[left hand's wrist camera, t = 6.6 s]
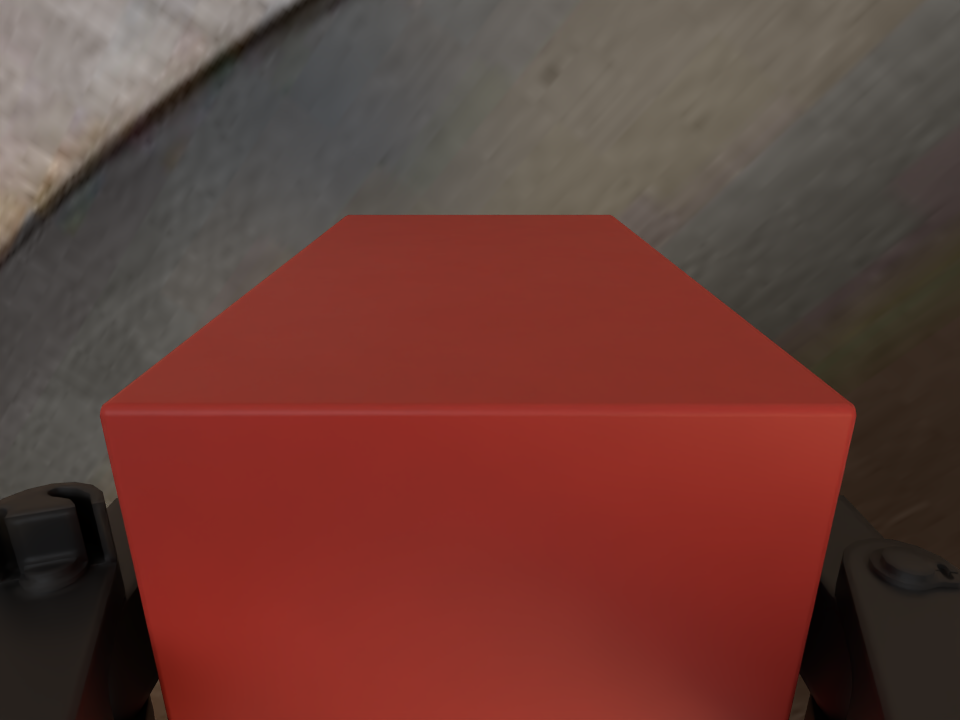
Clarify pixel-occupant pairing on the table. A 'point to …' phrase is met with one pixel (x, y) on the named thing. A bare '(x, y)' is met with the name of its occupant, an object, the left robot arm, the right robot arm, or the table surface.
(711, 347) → the block
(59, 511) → the left robot arm
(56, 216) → the table surface
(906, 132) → the table surface
